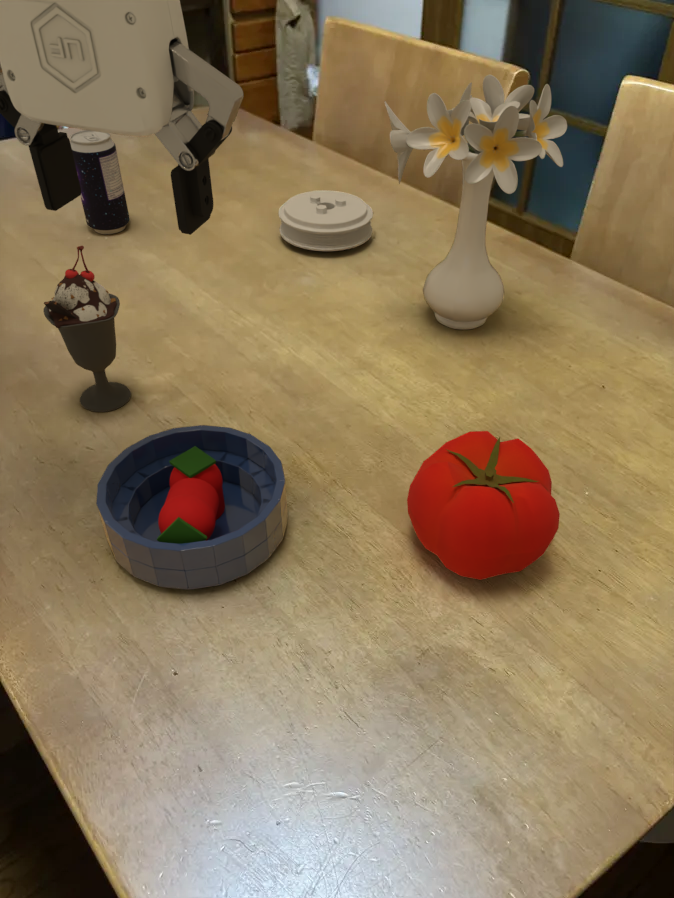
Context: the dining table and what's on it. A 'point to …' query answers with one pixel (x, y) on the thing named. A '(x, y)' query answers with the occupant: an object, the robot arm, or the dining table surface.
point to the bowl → (236, 531)
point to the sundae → (89, 333)
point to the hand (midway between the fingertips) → (129, 214)
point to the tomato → (483, 505)
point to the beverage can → (100, 181)
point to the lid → (325, 220)
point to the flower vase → (476, 184)
